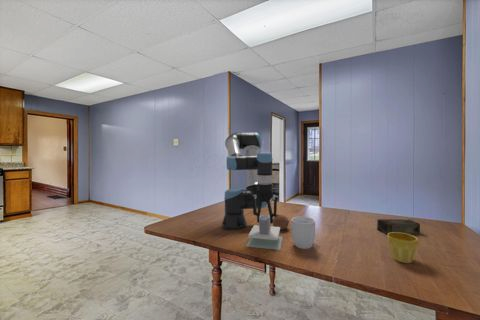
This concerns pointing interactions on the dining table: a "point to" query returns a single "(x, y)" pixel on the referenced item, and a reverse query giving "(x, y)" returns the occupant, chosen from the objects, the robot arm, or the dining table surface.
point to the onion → (280, 221)
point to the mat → (265, 243)
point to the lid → (264, 230)
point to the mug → (303, 231)
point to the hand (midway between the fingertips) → (265, 228)
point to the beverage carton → (398, 226)
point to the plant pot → (402, 246)
